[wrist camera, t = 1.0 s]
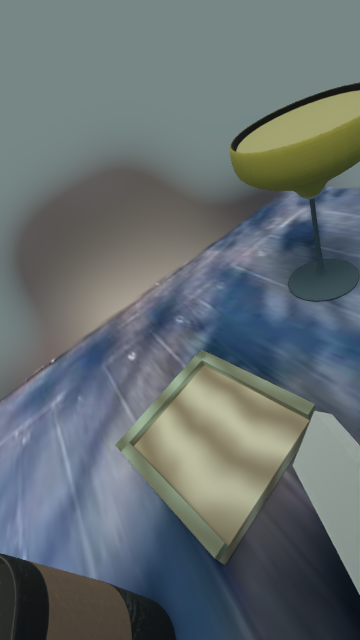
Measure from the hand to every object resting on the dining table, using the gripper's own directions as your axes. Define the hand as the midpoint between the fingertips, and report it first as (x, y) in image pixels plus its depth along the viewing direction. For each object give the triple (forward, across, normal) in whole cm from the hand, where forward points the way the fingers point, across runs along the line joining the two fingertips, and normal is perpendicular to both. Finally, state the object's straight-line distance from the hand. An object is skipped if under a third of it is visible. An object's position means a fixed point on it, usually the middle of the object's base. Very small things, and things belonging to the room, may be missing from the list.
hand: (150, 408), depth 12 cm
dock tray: (+22, +10, -16) cm, 29 cm away
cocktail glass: (+40, +26, +5) cm, 48 cm away
